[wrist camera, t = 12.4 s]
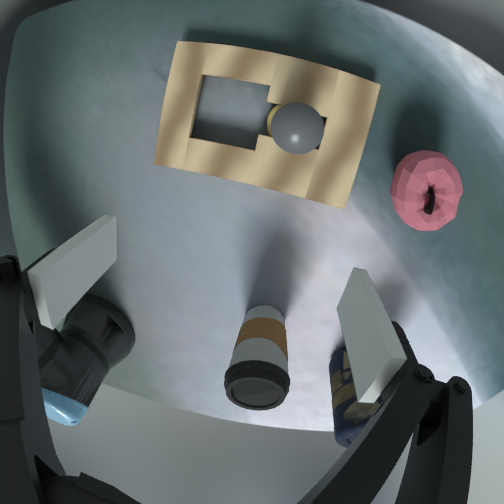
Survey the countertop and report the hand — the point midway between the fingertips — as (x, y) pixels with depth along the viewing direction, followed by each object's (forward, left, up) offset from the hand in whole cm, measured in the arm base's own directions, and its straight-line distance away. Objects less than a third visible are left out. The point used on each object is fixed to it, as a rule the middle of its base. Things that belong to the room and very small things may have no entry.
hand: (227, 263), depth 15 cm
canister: (+24, -27, -23) cm, 43 cm away
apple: (+19, +5, -23) cm, 30 cm away
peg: (+2, +7, -23) cm, 24 cm away
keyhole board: (-1, +7, -23) cm, 24 cm away
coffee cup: (+6, -22, -23) cm, 32 cm away
